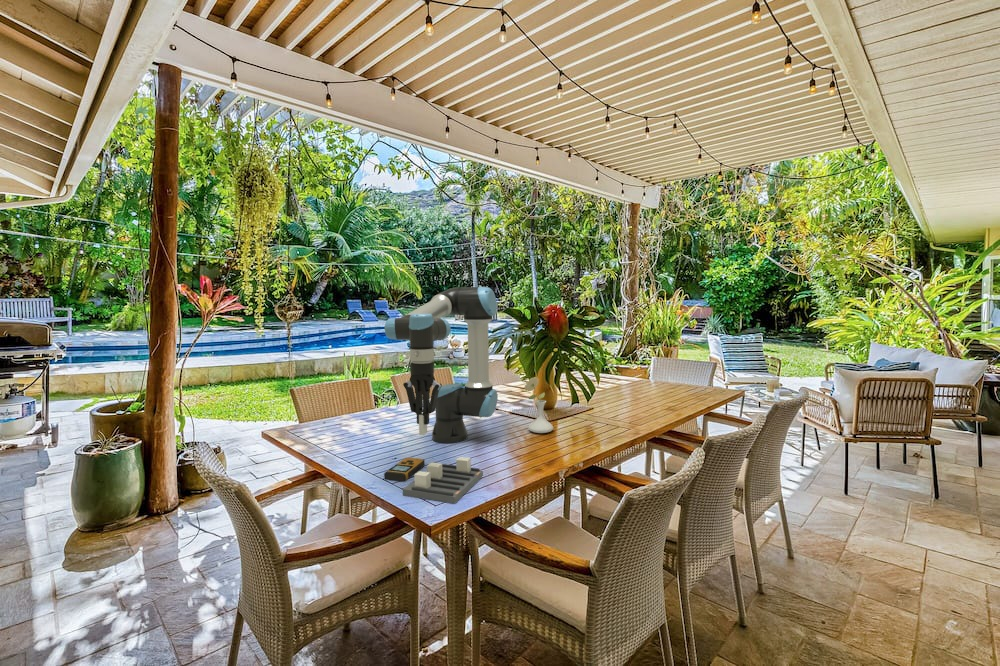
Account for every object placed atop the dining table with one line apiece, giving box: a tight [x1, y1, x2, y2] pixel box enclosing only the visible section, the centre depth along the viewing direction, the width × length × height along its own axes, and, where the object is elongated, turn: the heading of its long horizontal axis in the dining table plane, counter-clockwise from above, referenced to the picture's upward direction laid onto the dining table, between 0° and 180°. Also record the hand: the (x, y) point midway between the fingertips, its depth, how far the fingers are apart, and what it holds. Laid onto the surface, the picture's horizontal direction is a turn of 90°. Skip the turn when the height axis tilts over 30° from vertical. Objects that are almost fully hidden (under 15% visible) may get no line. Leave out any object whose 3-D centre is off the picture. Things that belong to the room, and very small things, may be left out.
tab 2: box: [426, 462, 443, 479], centre depth 158 cm, size 3×4×4 cm
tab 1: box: [413, 470, 431, 489], centre depth 150 cm, size 3×4×4 cm
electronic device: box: [383, 457, 426, 483], centre depth 169 cm, size 8×16×3 cm, turn 163°
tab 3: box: [455, 456, 472, 473], centre depth 163 cm, size 3×4×4 cm
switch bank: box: [402, 463, 484, 505], centre depth 157 cm, size 22×18×3 cm
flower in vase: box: [524, 376, 554, 434], centre depth 214 cm, size 13×11×25 cm
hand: (423, 433), depth 156 cm, fingers closed
